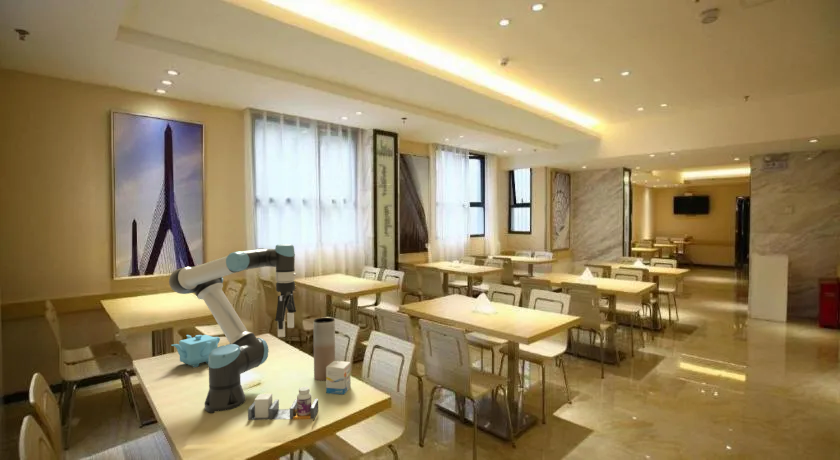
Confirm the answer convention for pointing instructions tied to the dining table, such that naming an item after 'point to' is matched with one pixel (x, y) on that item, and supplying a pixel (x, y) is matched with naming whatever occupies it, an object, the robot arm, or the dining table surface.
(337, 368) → the ink box
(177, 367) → the dining table surface
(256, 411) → the filler block
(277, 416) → the rack
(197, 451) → the dining table surface
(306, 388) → the pill bottle
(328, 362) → the vase
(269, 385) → the dining table surface
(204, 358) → the teakettle
